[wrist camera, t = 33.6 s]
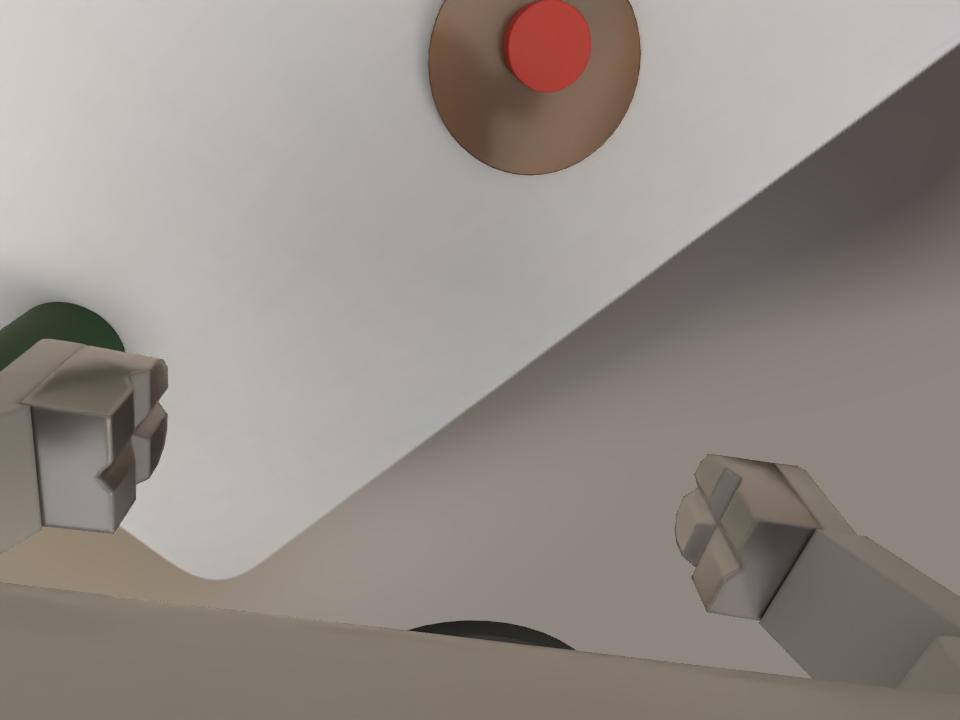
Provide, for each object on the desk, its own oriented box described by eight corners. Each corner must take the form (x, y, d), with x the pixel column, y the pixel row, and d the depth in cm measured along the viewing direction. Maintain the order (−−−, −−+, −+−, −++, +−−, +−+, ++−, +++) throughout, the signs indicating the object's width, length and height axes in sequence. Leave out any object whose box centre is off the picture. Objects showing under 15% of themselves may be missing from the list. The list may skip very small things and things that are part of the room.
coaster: (677, 3, 33) (681, 3, 33) (578, 203, 38) (580, 205, 37) (478, -102, 31) (478, -103, 30) (398, 125, 35) (398, 127, 35)
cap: (592, 20, 33) (606, 20, 30) (560, 98, 34) (571, 105, 31) (520, -13, 32) (527, -16, 29) (491, 68, 34) (495, 73, 31)
